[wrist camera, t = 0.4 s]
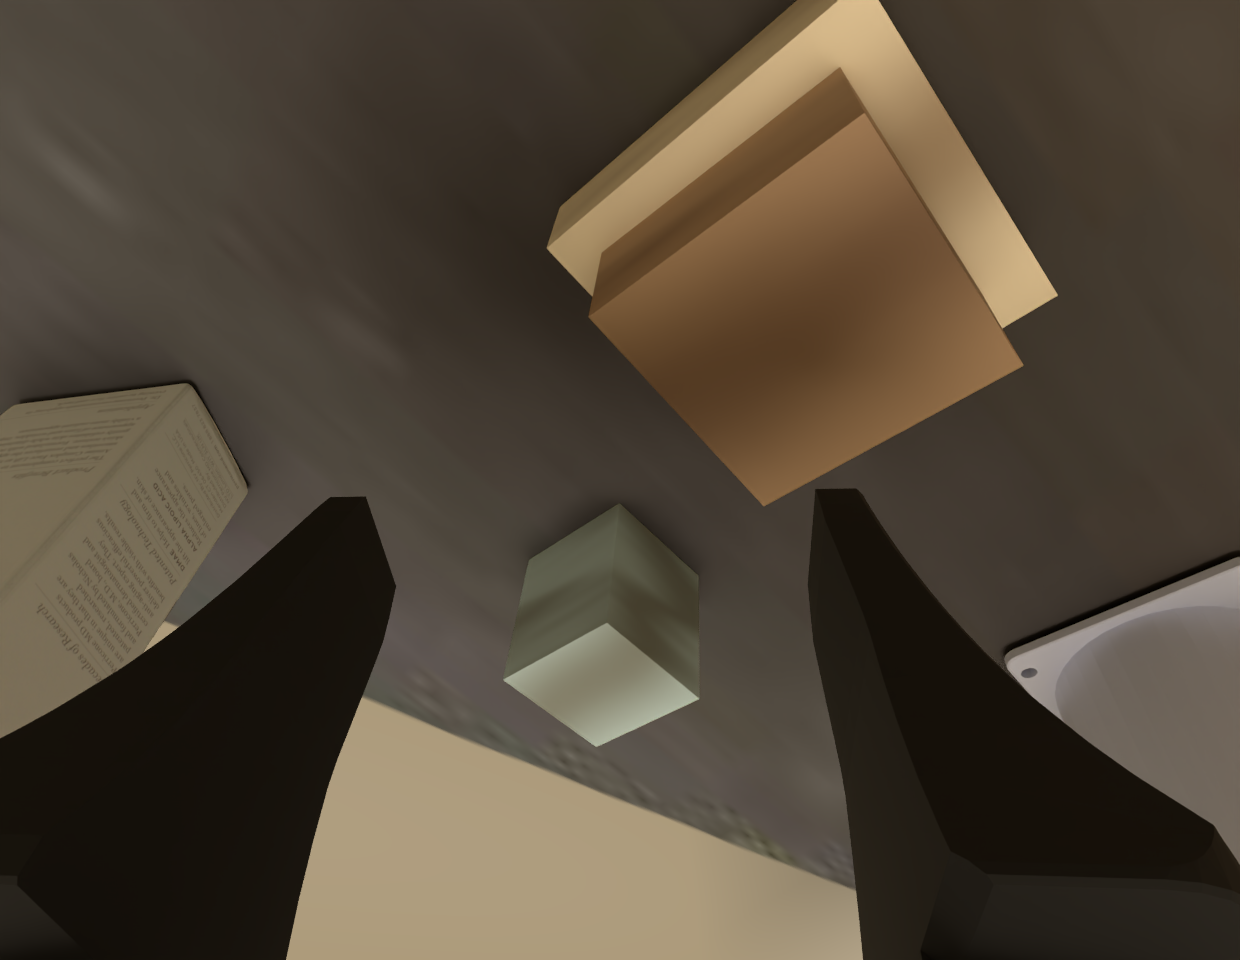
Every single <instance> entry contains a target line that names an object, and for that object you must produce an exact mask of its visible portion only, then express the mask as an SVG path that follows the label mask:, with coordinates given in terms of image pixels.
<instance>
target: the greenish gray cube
mask: <svg viewBox="0 0 1240 960" xmlns="http://www.w3.org/2000/svg"><path fill="white" fill-rule="evenodd" d="M503 680H504V681H505V682H507V683H508V684H509V685H511V686H512V687H514V688H515V689H516V690H518V691H519V692H521V693H522V694H523V695H525V696H526V697H528V698H529V699H530V700H532V701H533V702H534V703H536V704H537V705H539V706H540V707H541V708H543V709H544V710H546V711H547V712H548V713H550V714H551V715H553V716H554V717H555V718H557V719H558V720H559V721H561V722H562V723H564V724H565V725H566V726H568V727H569V728H571V729H572V730H573V731H575V732H576V733H578V734H579V735H580V736H582V737H583V738H584V739H586V740H587V741H589V742H590V743H591V744H593V745H594V746H596V747H597V746H599V745H602V744H604V743H606V742H608V741H610V740H612V739H614V738H617V737H619V736H621V735H623V734H625V733H627V732H630V731H632V730H634V729H636V728H638V727H640V726H642V725H645V724H647V723H649V722H651V721H653V720H655V719H657V718H660V717H662V716H664V715H666V714H668V713H670V712H672V711H675V710H677V709H679V708H681V707H683V706H685V705H688V704H690V703H692V702H694V701H696V700H698V699H700V686H699V576H698V575H697V574H696V573H695V572H694V571H693V570H691V569H690V568H689V567H688V566H687V565H686V564H685V563H684V562H683V561H682V560H681V559H680V558H678V557H677V556H676V555H675V554H674V553H673V552H672V551H671V550H670V549H669V548H668V547H666V546H665V545H664V544H663V543H662V542H661V541H660V540H659V539H658V538H657V537H656V536H655V535H653V534H652V533H651V532H650V531H649V530H648V529H647V528H646V527H645V526H644V525H643V524H642V523H640V522H639V521H638V520H637V519H636V518H635V517H634V516H633V515H632V514H631V513H630V512H629V511H627V510H626V509H625V508H624V507H623V506H622V505H621V504H620V503H619V504H617V505H616V506H614V507H612V508H611V509H609V510H608V511H606V512H604V513H603V514H601V515H600V516H598V517H596V518H595V519H593V520H592V521H590V522H588V523H587V524H585V525H584V526H582V527H581V528H579V529H577V530H576V531H574V532H573V533H571V534H569V535H568V536H566V537H565V538H563V539H561V540H560V541H558V542H557V543H555V544H553V545H552V546H550V547H549V548H547V549H546V550H544V551H542V552H541V553H539V554H538V555H536V556H534V557H533V558H531V559H530V560H529V562H528V567H527V571H526V576H525V580H524V585H523V590H522V594H521V599H520V604H519V608H518V613H517V617H516V622H515V627H514V631H513V636H512V640H511V645H510V650H509V654H508V659H507V664H506V668H505V673H504V677H503Z"/></svg>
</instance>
